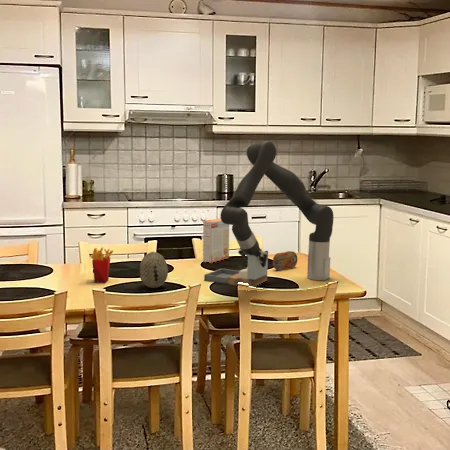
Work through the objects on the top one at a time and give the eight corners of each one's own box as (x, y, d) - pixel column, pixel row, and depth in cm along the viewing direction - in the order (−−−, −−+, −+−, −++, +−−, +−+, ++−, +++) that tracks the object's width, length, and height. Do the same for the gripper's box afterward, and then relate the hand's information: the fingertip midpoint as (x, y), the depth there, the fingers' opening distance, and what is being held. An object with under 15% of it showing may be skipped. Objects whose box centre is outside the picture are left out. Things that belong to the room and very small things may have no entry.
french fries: (95, 279, 266) (95, 245, 264) (114, 279, 266) (114, 245, 263) (90, 284, 257) (90, 249, 255) (110, 284, 257) (110, 249, 255)
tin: (275, 271, 288) (276, 254, 287) (271, 270, 291) (271, 253, 289) (297, 267, 298) (298, 250, 297) (292, 266, 301) (293, 249, 299)
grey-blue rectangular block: (267, 274, 268) (268, 251, 266) (254, 279, 257) (255, 256, 256) (260, 273, 269) (260, 250, 268) (247, 278, 259) (247, 255, 257)
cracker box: (220, 257, 316) (221, 217, 313) (229, 259, 312) (230, 218, 309) (202, 261, 305) (202, 220, 302) (211, 263, 302) (212, 221, 298)
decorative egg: (170, 290, 251) (170, 254, 248) (141, 292, 247) (141, 255, 245) (164, 283, 262) (165, 248, 259) (137, 284, 258) (137, 249, 256)
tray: (242, 277, 276) (243, 271, 275) (226, 284, 263) (226, 278, 263) (221, 273, 281) (221, 268, 281) (204, 280, 268) (204, 274, 268)
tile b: (253, 277, 264) (253, 270, 263) (248, 279, 260) (248, 272, 259) (243, 275, 266) (244, 269, 265) (238, 277, 262) (239, 271, 262)
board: (266, 281, 269) (267, 274, 269) (252, 288, 257) (252, 281, 257) (242, 277, 275) (243, 271, 275) (227, 284, 263) (227, 277, 263)
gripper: (265, 235, 250) (277, 259, 263) (235, 232, 257) (248, 255, 270) (259, 250, 247) (271, 274, 259) (228, 246, 254) (242, 270, 266)
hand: (259, 264), depth 264 cm, fingers closed on grey-blue rectangular block, 3 cm apart
